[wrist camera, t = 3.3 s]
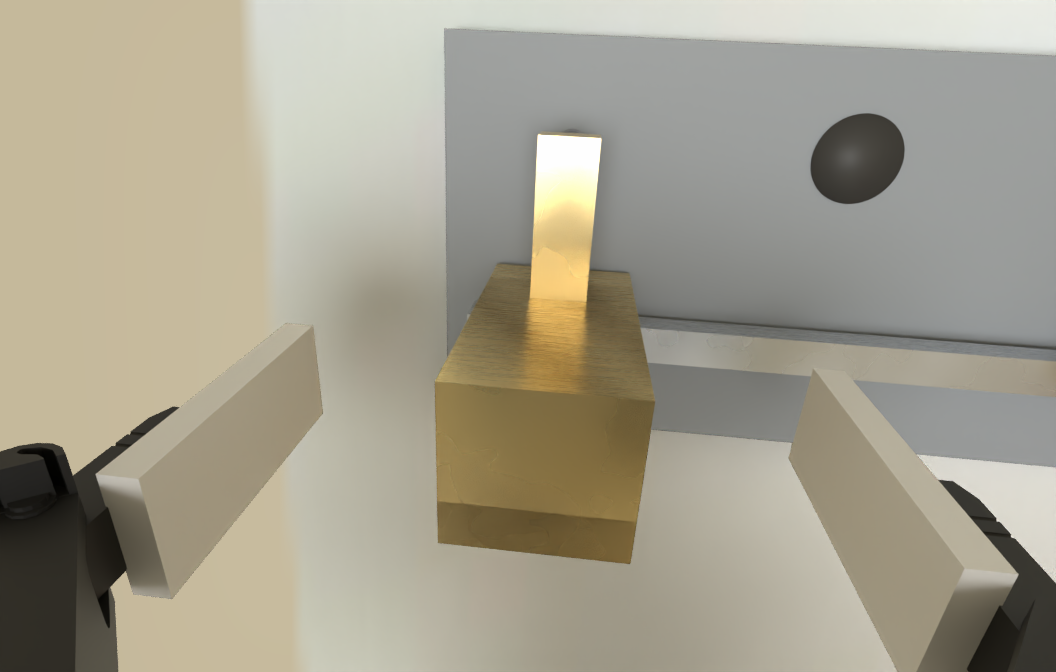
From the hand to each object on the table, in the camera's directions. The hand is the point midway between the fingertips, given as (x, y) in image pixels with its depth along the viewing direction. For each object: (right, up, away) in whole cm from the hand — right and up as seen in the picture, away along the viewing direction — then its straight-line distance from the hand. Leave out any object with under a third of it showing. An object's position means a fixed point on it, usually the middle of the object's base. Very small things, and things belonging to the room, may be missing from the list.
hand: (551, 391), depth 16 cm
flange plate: (+9, +4, +4) cm, 10 cm away
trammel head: (+1, +4, +4) cm, 5 cm away
